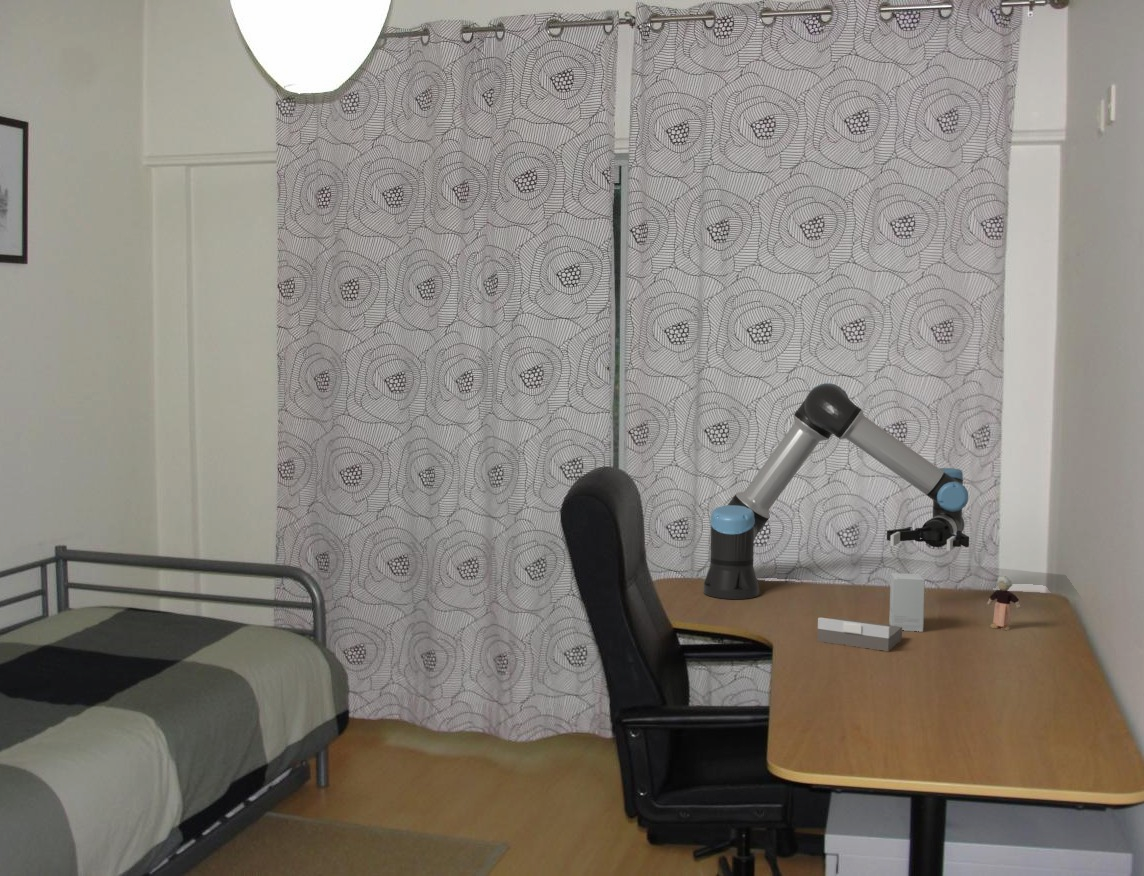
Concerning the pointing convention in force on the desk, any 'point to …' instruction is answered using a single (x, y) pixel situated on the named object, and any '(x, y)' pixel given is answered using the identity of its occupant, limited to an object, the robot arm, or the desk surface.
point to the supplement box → (907, 601)
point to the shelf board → (858, 633)
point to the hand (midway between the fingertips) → (919, 543)
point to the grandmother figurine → (1003, 604)
